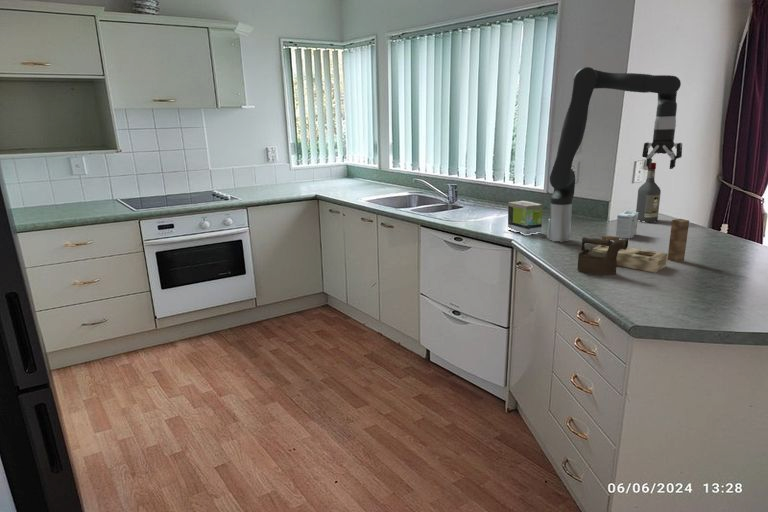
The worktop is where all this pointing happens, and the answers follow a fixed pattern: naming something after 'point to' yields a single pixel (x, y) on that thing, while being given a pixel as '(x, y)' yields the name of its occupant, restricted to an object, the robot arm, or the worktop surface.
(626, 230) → the light bulb box
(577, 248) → the worktop surface
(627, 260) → the pine toolbox
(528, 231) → the tea box
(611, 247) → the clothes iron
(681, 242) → the walnut key
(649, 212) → the liquor
